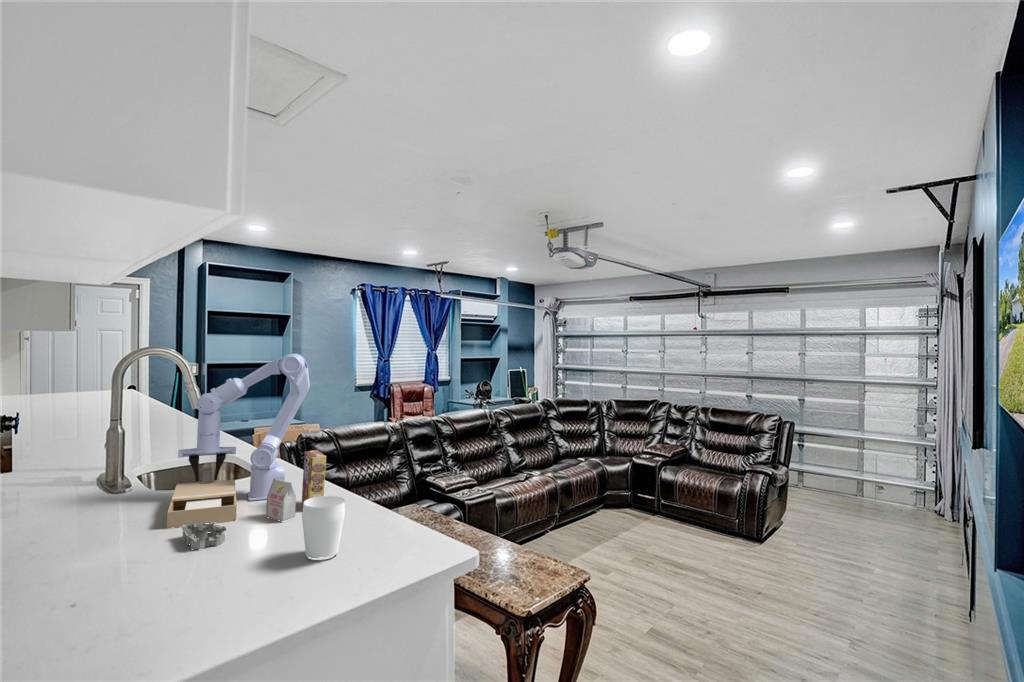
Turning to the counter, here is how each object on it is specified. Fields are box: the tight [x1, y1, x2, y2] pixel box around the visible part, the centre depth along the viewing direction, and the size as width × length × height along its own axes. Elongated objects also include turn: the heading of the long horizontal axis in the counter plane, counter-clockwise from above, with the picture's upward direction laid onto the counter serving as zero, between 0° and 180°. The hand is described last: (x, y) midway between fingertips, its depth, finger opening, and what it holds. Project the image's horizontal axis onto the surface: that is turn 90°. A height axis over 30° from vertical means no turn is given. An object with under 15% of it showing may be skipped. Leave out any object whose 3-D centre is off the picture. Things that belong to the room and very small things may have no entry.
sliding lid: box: [170, 467, 237, 503], centre depth 144 cm, size 15×16×4 cm
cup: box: [301, 495, 346, 558], centre depth 114 cm, size 9×9×12 cm
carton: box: [166, 495, 237, 529], centre depth 136 cm, size 15×16×4 cm
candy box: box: [301, 450, 327, 505], centre depth 147 cm, size 9×4×15 cm, turn 35°
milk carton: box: [265, 479, 297, 521], centre depth 136 cm, size 4×7×10 cm, turn 61°
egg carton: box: [181, 522, 227, 550], centre depth 119 cm, size 11×8×4 cm
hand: (206, 480), depth 150 cm, fingers open, 4 cm apart
